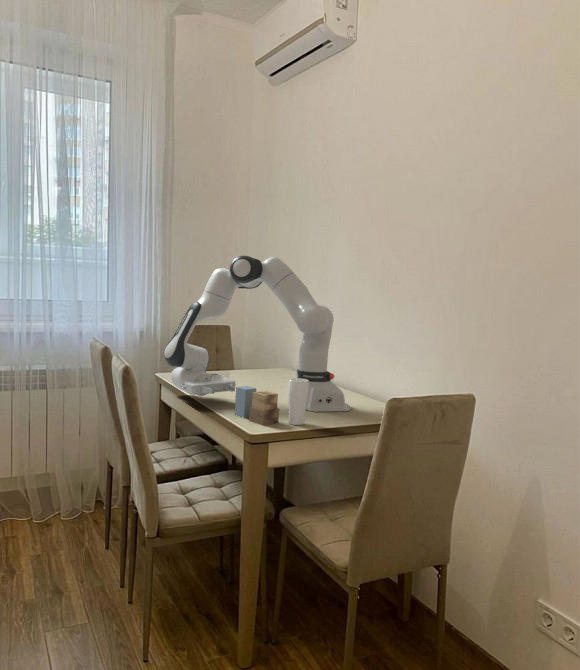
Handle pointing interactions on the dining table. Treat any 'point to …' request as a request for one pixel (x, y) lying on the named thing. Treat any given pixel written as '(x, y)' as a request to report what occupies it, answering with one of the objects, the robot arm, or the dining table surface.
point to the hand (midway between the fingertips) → (223, 390)
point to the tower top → (264, 400)
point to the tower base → (264, 416)
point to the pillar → (243, 400)
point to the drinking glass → (297, 400)
